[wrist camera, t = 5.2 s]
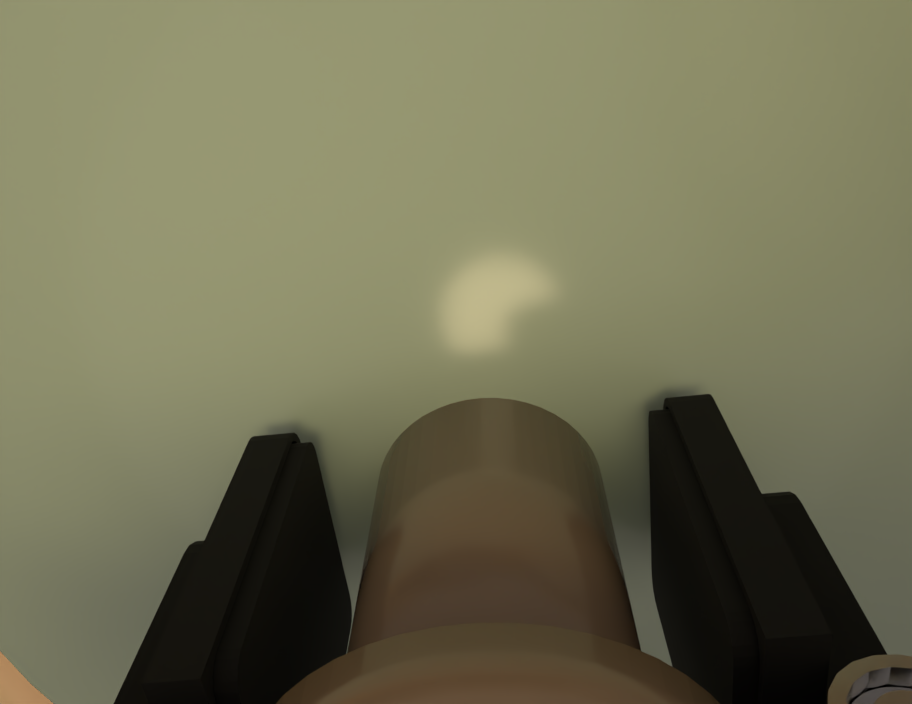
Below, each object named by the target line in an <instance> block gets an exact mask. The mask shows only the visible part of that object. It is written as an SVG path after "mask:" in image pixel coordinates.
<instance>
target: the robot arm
mask: <svg viewBox="0 0 912 704" xmlns="http://www.w3.org/2000/svg"><path fill="white" fill-rule="evenodd" d="M648 427H649V475H650V523H651V570H652V584H653V592H654V597H655V602H656V606H657V610H658V614H659V618H660V621H661V625H662V629H663V633H664V636H665V640H666V644H667V648H668V652H669V655H670V659H671V663H672V667H674V668H675V669H677V670H679V671H680V672H682V673H684V674H685V675H687V676H688V677H690V678H691V679H692V680H693V681H695V682H696V683H697V684H698V685H700V686H701V687H702V688H704V689H705V690H706V691H707V692H709V693H710V694H711V695H712V696H713V697H714V698H715V699H716V700H717V701H718V702H719V703H720V704H912V657H911V656H906V655H901V654H894V655H887V653H886V651H885V649H884V647H883V646H882V644H881V642H880V640H879V639H878V637H877V635H876V633H875V632H874V630H873V628H872V626H871V625H870V623H869V621H868V619H867V617H866V616H865V614H864V612H863V610H862V609H861V607H860V605H859V603H858V602H857V600H856V598H855V596H854V594H853V593H852V591H851V589H850V587H849V586H848V584H847V582H846V580H845V579H844V577H843V575H842V573H841V572H840V570H839V568H838V566H837V564H836V563H835V561H834V559H833V557H832V556H831V554H830V552H829V550H828V549H827V547H826V545H825V543H824V541H823V540H822V538H821V536H820V534H819V533H818V531H817V529H816V527H815V526H814V524H813V522H812V520H811V519H810V517H809V515H808V513H807V511H806V510H805V508H804V506H803V504H802V503H801V501H800V500H799V499H798V497H797V496H796V494H794V493H792V492H790V491H789V492H777V493H765V494H761V492H760V490H759V488H758V486H757V484H756V482H755V480H754V478H753V476H752V474H751V472H750V470H749V468H748V466H747V464H746V462H745V460H744V458H743V456H742V454H741V452H740V450H739V448H738V446H737V444H736V442H735V440H734V438H733V436H732V434H731V432H730V430H729V428H728V426H727V424H726V422H725V420H724V418H723V416H722V414H721V412H720V410H719V408H718V406H717V404H716V402H715V400H714V398H713V397H712V395H711V394H702V395H691V396H680V397H670V398H665V400H664V404H663V410H652V411H650V412H649V417H648ZM351 623H352V606H351V599H350V594H349V589H348V585H347V581H346V577H345V572H344V568H343V564H342V560H341V555H340V551H339V547H338V543H337V538H336V534H335V530H334V526H333V521H332V517H331V513H330V509H329V504H328V500H327V496H326V491H325V487H324V483H323V479H322V474H321V470H320V466H319V462H318V457H317V453H316V450H315V447H314V445H313V443H311V442H305V443H301V442H300V439H299V437H298V435H297V434H296V433H283V434H273V435H262V436H254V437H251V438H250V440H249V441H248V444H247V446H246V448H245V450H244V453H243V455H242V457H241V459H240V462H239V464H238V466H237V468H236V471H235V473H234V475H233V477H232V480H231V482H230V484H229V486H228V489H227V491H226V493H225V495H224V498H223V500H222V502H221V504H220V507H219V509H218V511H217V513H216V516H215V518H214V520H213V522H212V525H211V527H210V529H209V531H208V534H207V536H206V538H205V540H204V541H195V542H194V543H192V544H190V545H189V546H188V548H187V549H186V551H185V552H184V554H183V556H182V558H181V560H180V563H179V565H178V567H177V569H176V571H175V573H174V575H173V578H172V580H171V582H170V584H169V586H168V588H167V590H166V593H165V595H164V597H163V599H162V601H161V603H160V605H159V607H158V610H157V612H156V614H155V616H154V618H153V620H152V622H151V625H150V627H149V629H148V631H147V633H146V635H145V637H144V640H143V642H142V644H141V646H140V648H139V650H138V652H137V655H136V657H135V659H134V661H133V663H132V665H131V667H130V669H129V672H128V674H127V676H126V678H125V680H124V682H123V684H122V687H121V689H120V691H119V693H118V695H117V697H116V699H115V702H114V704H276V703H277V702H278V701H279V699H280V698H281V697H282V696H283V695H284V694H285V693H286V692H288V691H289V690H290V689H291V688H293V687H294V686H295V685H296V684H297V683H299V682H300V681H301V680H302V679H304V678H305V677H306V676H307V675H309V674H311V673H312V672H314V671H316V670H317V669H319V668H321V667H322V666H324V665H326V664H327V663H329V662H331V661H332V660H334V659H336V658H338V657H340V656H343V655H345V654H346V653H347V647H348V641H349V636H350V630H351Z"/></svg>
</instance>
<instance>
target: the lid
mask: <svg viewBox="0 0 912 704" xmlns="http://www.w3.org/2000/svg"><path fill="white" fill-rule="evenodd" d="M702 394H711V395H712V397H713V398H714V400H715V402H716V404H717V406H718V408H719V410H720V412H721V414H722V416H723V418H724V420H725V422H726V424H727V426H728V428H729V430H730V432H731V434H732V436H733V438H734V440H735V442H736V444H737V446H738V448H739V450H740V452H741V454H742V456H743V458H744V460H745V462H746V464H747V466H748V468H749V470H750V472H751V474H752V476H753V478H754V480H755V482H756V484H757V486H758V488H759V490H760V492H761V494H765V493H777V492H789V491H790V492H792V493H794V494H796V496H797V497H798V499H799V500H800V501H801V503H802V504H803V506H804V508H805V510H806V511H807V513H808V515H809V517H810V519H811V520H812V522H813V524H814V526H815V527H816V529H817V531H818V533H819V534H820V536H821V538H822V540H823V541H824V543H825V545H826V547H827V549H828V550H829V552H830V554H831V556H832V557H833V559H834V561H835V563H836V564H837V566H838V568H839V570H840V572H841V573H842V575H843V577H844V579H845V580H846V582H847V584H848V586H849V587H850V589H851V591H852V593H853V594H854V596H855V598H856V600H857V602H858V603H859V605H860V607H861V609H862V610H863V612H864V614H865V616H866V617H867V619H868V621H869V623H870V625H871V626H872V628H873V630H874V632H875V633H876V635H877V637H878V639H879V640H880V642H881V644H882V646H883V647H884V649H885V651H886V653H887V655H894V654H901V655H906V656H911V657H912V0H0V651H1V652H2V654H3V655H4V656H5V657H6V658H7V659H8V660H9V661H10V662H11V663H12V664H13V665H14V666H15V667H16V668H17V670H18V671H19V672H20V673H21V674H22V675H23V676H24V677H25V678H26V679H27V680H28V681H29V682H30V683H31V684H32V685H33V686H34V687H35V688H36V689H37V690H39V691H40V692H41V693H42V694H43V695H44V696H46V697H47V698H48V699H49V700H50V701H51V702H53V703H54V704H114V702H115V699H116V697H117V695H118V693H119V691H120V689H121V687H122V684H123V682H124V680H125V678H126V676H127V674H128V672H129V669H130V667H131V665H132V663H133V661H134V659H135V657H136V655H137V652H138V650H139V648H140V646H141V644H142V642H143V640H144V637H145V635H146V633H147V631H148V629H149V627H150V625H151V622H152V620H153V618H154V616H155V614H156V612H157V610H158V607H159V605H160V603H161V601H162V599H163V597H164V595H165V593H166V590H167V588H168V586H169V584H170V582H171V580H172V578H173V575H174V573H175V571H176V569H177V567H178V565H179V563H180V560H181V558H182V556H183V554H184V552H185V551H186V549H187V548H188V546H189V545H190V544H192V543H194V542H195V541H204V540H205V538H206V536H207V534H208V531H209V529H210V527H211V525H212V522H213V520H214V518H215V516H216V513H217V511H218V509H219V507H220V504H221V502H222V500H223V498H224V495H225V493H226V491H227V489H228V486H229V484H230V482H231V480H232V477H233V475H234V473H235V471H236V468H237V466H238V464H239V462H240V459H241V457H242V455H243V453H244V450H245V448H246V446H247V444H248V441H249V440H250V438H251V437H254V436H262V435H273V434H283V433H296V434H297V435H298V437H299V439H300V442H301V443H305V442H311V443H313V445H314V447H315V450H316V453H317V457H318V462H319V466H320V470H321V474H322V479H323V483H324V487H325V491H326V496H327V500H328V504H329V509H330V513H331V517H332V521H333V526H334V530H335V534H336V538H337V543H338V547H339V551H340V555H341V560H342V564H343V568H344V572H345V577H346V581H347V585H348V589H349V594H350V599H351V606H352V623H351V630H350V636H349V641H348V647H347V653H346V654H345V655H343V656H340V657H338V658H336V659H334V660H332V661H331V662H329V663H327V664H326V665H324V666H322V667H321V668H319V669H317V670H316V671H314V672H312V673H311V674H309V675H307V676H306V677H305V678H304V679H302V680H301V681H300V682H299V683H297V684H296V685H295V686H294V687H293V688H291V689H290V690H289V691H288V692H286V693H285V694H284V695H283V696H282V697H281V698H280V699H279V701H278V702H277V703H276V704H720V703H719V702H718V701H717V700H716V699H715V698H714V697H713V696H712V695H711V694H710V693H709V692H707V691H706V690H705V689H704V688H702V687H701V686H700V685H698V684H697V683H696V682H695V681H693V680H692V679H691V678H690V677H688V676H687V675H685V674H684V673H682V672H680V671H679V670H677V669H675V668H674V667H672V663H671V659H670V655H669V652H668V648H667V644H666V640H665V636H664V633H663V629H662V625H661V621H660V618H659V614H658V610H657V606H656V602H655V597H654V592H653V584H652V570H651V523H650V475H649V427H648V417H649V412H650V411H652V410H663V404H664V400H665V398H670V397H680V396H691V395H702Z"/></svg>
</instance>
